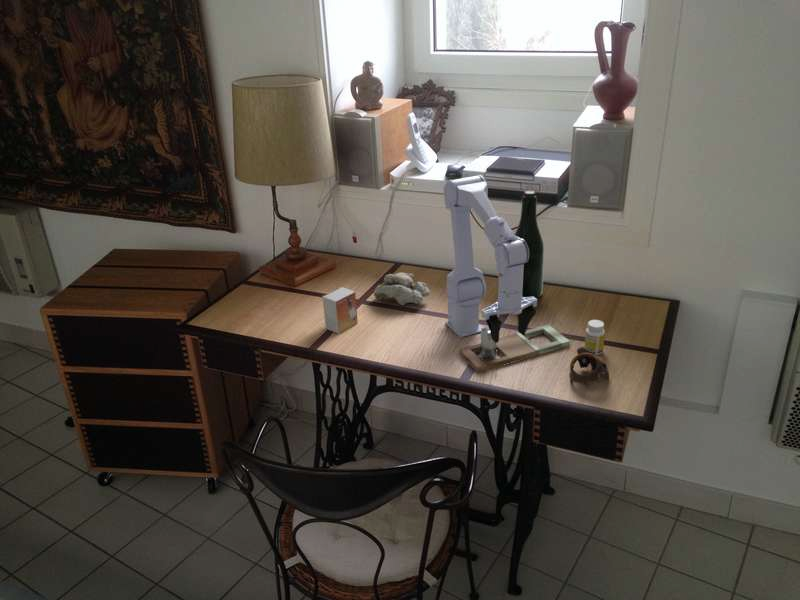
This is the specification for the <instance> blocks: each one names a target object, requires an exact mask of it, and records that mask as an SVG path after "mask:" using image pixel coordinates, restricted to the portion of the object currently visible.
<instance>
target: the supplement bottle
mask: <svg viewBox="0 0 800 600" xmlns="http://www.w3.org/2000/svg"><path fill="white" fill-rule="evenodd" d="M604 328H605V323H604V322H603V321H602V320H599V319H591V320H589V321H588V323H587V328H586V329H585V338H584V348H585V349H586V351H587V352H588V353H592V354H594V355H597V356H599V355H602V354H603V352H604V344H605V343H604V342H605V335H606V331H605V329H604Z"/></svg>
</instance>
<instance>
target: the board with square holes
mask: <svg viewBox="0 0 800 600" xmlns="http://www.w3.org/2000/svg"><path fill="white" fill-rule="evenodd" d="M542 333H544V334H542ZM539 334H540V335H545V336H546V337H547V336H548V337H549V338H548V337H547V338H548V339H550V340H551V342H549V343H546V344H542V345H540V346H537V345H535V344H534V343H533V342H532V341H530V339H529V338H527V337H530V338H532V337H531V336H533V337H536V336H535V335H537V336H539ZM553 341H554V342H553ZM570 343H571V340H569V339H568V338H566V337H565V336H564V335H563V334H561V332H559V331H558V330H556V329H555V328H553V326H551V325H550V324H545V325H541V326H538V327H533V328H530V329H527V330H526V333H525V335H522V334H521V333H519V332H518V331H517V332H515V333H512V334H509V335H505V336H501V337H499V342H497V343H496V350H497V351H498V352H499V353H500V354H501V355H500V354H499V353H498V352H497V351H496V352H497V353H498V354H499V355H500V356H501V357H498V358H497V357H496V359H494V360H490V361H484V360H482V359H481V357H479V356H477V355H476V354H477V353H479V351H480V352H481V342H480V343H476V344H473V345H469V346H466V347H462V348H459V350H458V352H459V355H460V357H462V358H463V359H464V360H465V361H466V363H468V364H469V366H470V367H472V368H473V369H474V370H475V371H476V373H478V372H479V373H481V371H482V372H485V371H489V370H492V369H494V368H495V367H496V368H499V367H502V366H505V365H504V364H506V365H508V364H507V363H509V364H512V363H511V362H513V363H515V362H514V361H516V362H519V361H522V360H521V359H523V360H525V358H526V359H528V358H527V357H530V358H532V357H531V356H533V357H535V356H534V355H536V356H539V355H538V354H540V355H542V354H541V353H543V354H545V352H547V353H549V352H548V351H550V352H553V351H556V349H557V350H560V349H563V348H567V347H569V346H571V345H570ZM566 346H567V347H566ZM552 350H553V351H552ZM476 352H477V353H476ZM518 360H519V361H518ZM501 365H502V366H501ZM488 369H489V370H488Z"/></svg>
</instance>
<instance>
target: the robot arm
mask: <svg viewBox="0 0 800 600" xmlns="http://www.w3.org/2000/svg"><path fill="white" fill-rule="evenodd" d="M445 182H446V183H444V186H443V196H444V197H443V198H444V205H445V209H446V210H450V217H451V221H450V222H451V229H452V240H453V242H452V243H453V249H454V250H453V251H454V262H455V268H453V270H452V271H451V272H450V273H448V274H447V276H446V287H445V289H446V290H445V292H446V295H447V299H448V301H447V320H446V321H445V322H444V323H445V325H447V327H449V328H450V329H451V330H452V331H453V332H454V333H455V334H456V335H457V336H458V337H459V338H465V337H467V336H471V335H474V334H479V333H481V330H482V329H483V328H484V327H483V326H482V325H481V324H480V302H482V298H483V297H485V296H486V293H487V283H486V281H485V278H484V273H483V272H482V271H481V270H480V269H479V268H477V267H475V261H474V250H473V249H474V248H473V236H472V226H471V213H470V212H471V209H472V210H473V211H474V213H475V214H476V215H477V216H478V218H479V219H480V220H481V222H482V223H483V224H484V227H483V233H484V234H485V236H486V237H487V239H488V241H489V243H490V244H491V246H492V247H493V249H494V254H493V255H494V258H495V262H496V271H497V272H498V285H497V286H498V289H497V301H496V302H494V303H493V304H491V305H489V306H487V307H486V308H483V309H481V317H482V318H483V320H485V322H486V323H487V326H488V327H489V329H490V333H491V337H492V340H493V341H494V342H495V343H497V342H499V338H500V329H501V326H502V324H503V321H501V320H500V319H499V315H506V314H507V315H509V314H513V315H517V319H518V320H517V332H519V333H521V334H522V335H525V333H526V330H528V326H529V324H530V322H531V321H532V319H534V316H535V315H536V312H537V311H536V309H535V307H538V298H537V299H536V298H535V297H533V296H532V297H524V298H522V289H523V269H524V263H526V262H528V260H529V248H528V246H527V244H526V242H525V240H524V239H521V238H519V236H515V233H514V231H513V230H512V229H511V227H510V226H509V224H508V222H507V221H506V219H505V218H504V217H501V216H500V217H499V216H498V215H497V213H496V210H495V208H494V207H493V205H492V203H491V201H490V199H489V197H488V195H489V189H488V182H487V180H486V179H485V177H483V175H481V174H477V175H474V176H468V177H463V178H456V179H448V180H446V181H445Z"/></svg>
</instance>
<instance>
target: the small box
mask: <svg viewBox="0 0 800 600" xmlns="http://www.w3.org/2000/svg"><path fill="white" fill-rule="evenodd" d="M356 297H357V296H356V292H355V291H354V290H351V289H348V288H346V287H343V286H341V287H340V288H337V289H336V290H333V291H332V292H330V293H327V294H325V295H322V307H323V314H324V325H325V329H327V330H328V331H332V332H333V333H335V334H338V335H340V334H341V333H343V332H344V331H346V330H349V329H350V328H352V327H353V326H356V325H358V323H359V322H358V320H359V319H358V311H357V298H356Z"/></svg>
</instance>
